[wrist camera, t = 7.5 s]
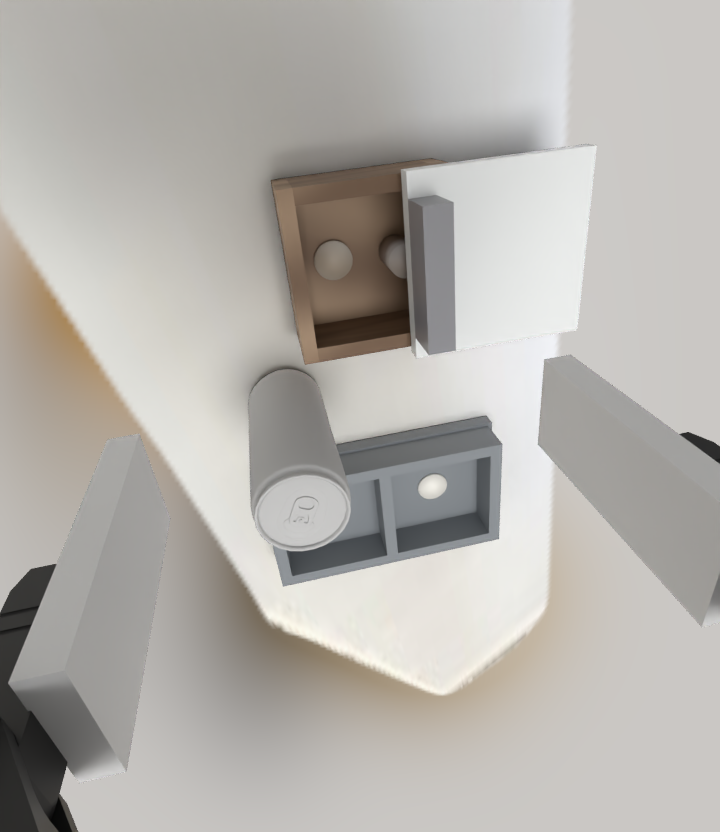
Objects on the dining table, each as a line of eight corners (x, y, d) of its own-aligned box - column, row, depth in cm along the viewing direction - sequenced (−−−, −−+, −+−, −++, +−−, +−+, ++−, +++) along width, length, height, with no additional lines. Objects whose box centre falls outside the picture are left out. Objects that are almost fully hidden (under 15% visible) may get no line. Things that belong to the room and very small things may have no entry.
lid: (400, 169, 26) (421, 176, 23) (585, 144, 27) (627, 147, 24) (411, 351, 30) (429, 377, 27) (568, 324, 31) (601, 345, 28)
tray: (270, 180, 29) (275, 190, 25) (431, 158, 30) (459, 165, 26) (297, 335, 34) (305, 364, 30) (436, 312, 35) (460, 337, 31)
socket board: (253, 460, 37) (254, 491, 34) (486, 416, 39) (506, 440, 36) (276, 555, 42) (279, 589, 39) (484, 511, 44) (502, 540, 41)
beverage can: (240, 422, 36) (240, 547, 26) (258, 357, 34) (265, 464, 24) (309, 436, 37) (336, 559, 27) (330, 374, 35) (367, 482, 25)
